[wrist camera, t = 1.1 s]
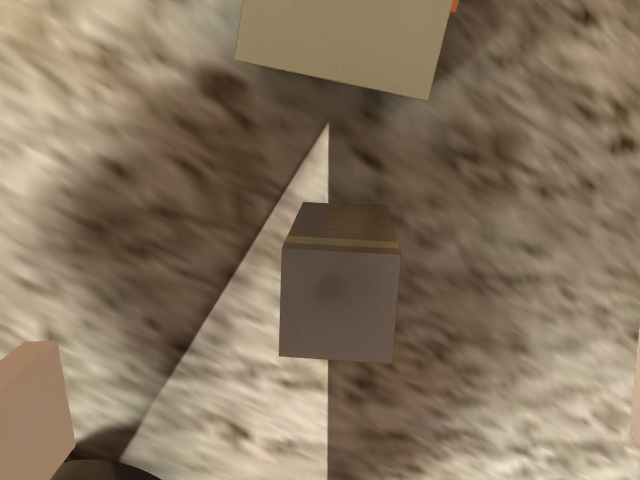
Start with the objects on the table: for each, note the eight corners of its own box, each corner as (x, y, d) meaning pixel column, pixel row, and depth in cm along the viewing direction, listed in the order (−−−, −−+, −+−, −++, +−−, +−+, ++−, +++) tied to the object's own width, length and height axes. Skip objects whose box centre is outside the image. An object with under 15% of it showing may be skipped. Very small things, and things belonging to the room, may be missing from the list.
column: (299, 281, 34) (278, 356, 25) (302, 201, 33) (281, 247, 23) (381, 286, 34) (392, 364, 24) (388, 206, 33) (401, 254, 23)
